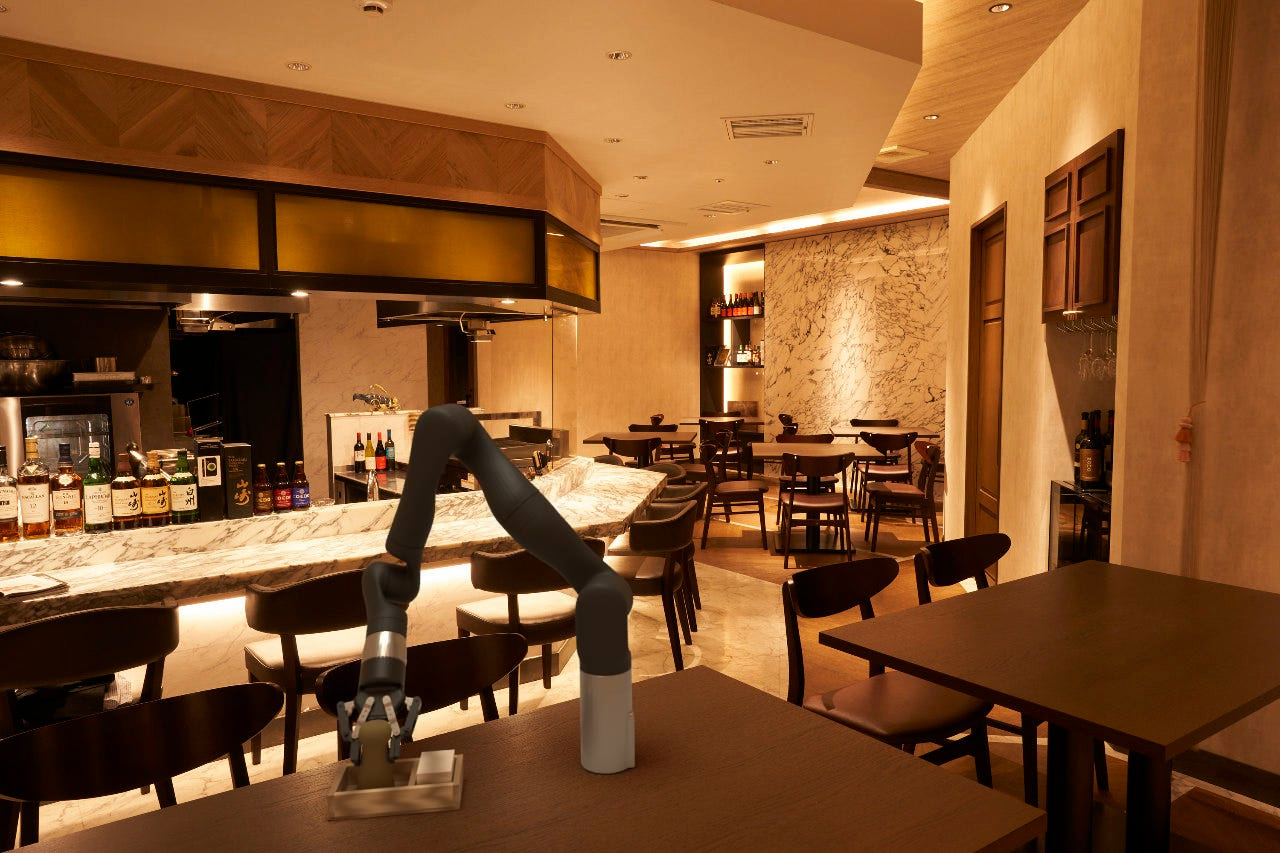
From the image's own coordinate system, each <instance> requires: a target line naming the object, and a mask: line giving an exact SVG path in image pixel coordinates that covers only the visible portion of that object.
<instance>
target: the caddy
mask: <svg viewBox="0 0 1280 853" xmlns="http://www.w3.org/2000/svg"><path fill="white" fill-rule="evenodd" d="M455 751H456V750H455V749H445V750H432V751H422V752H421V755H420V757H415V758H414V757H413V758H401V759H400V758H399V759H397V760H395V763H393V764H392V769H393V775H394V782H395V787H392V788H380V789H368V790H357V783H358V775H359V767H360V766H354V763H352V762H350V763H342V764H341V765H340V767H339V770H338V771H337V774H336V775H335V778H334V781H333V783H332V785H331V787H330V789H329V791H328V793H327V821H328V820H335V821H343V820H356V819H367V818H377V817H379V818H380V817H388V816H389V817H390V816H400V815H410V814H421V813H433V812H445V811H446V812H447V811H455V810H460V808H461V801H462V793H463V785H464V754H462V753H461V754H455Z"/></svg>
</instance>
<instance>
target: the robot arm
mask: <svg viewBox="0 0 1280 853" xmlns="http://www.w3.org/2000/svg"><path fill="white" fill-rule="evenodd" d="M452 456H453V457H454V458H456V459H457V460H458V462H460V463H461V465H463V466H464V467H465V468H466V469H467V470H468V471H469V472H470V473H471V475H472V476H473V477H474V479H475V480H476V481H477V483H478V485H479V487H480V489H481V492H482V493H483V496H484V498H485V501H486V503H487V505H488V508H489V510H490V512H491V515H492V516H493V517H494V519H495V520H496V521H497V523H498V524H499V525H500V526H501V527H502V528H503V530H505V532H506V533H507V534H508V535H509V536H510V537H511V538H512V539H513V540H514V542H515V543H517V544H518V545H519V547H521V548H522V549H523V550H525V551H526V552H527V553H529V554H531V556H533V557H535V558H536V559H538V560H539V561H541V562H543V563H545V564H546V565H548V566H549V567H551V568H552V569H554V570H555V571H557V573H559V575H561V576H562V578H563V579H565V581H566V582H567V583H568V584H569V585H570V586H571V587H572V589H573V590H574V592H575V593H576V594H577V597H576V601H575V606H574V607H575V609H574V620H575V646H576V654H577V657H578V660H579V709H580V710H579V712H580V713H579V717H580V719H579V720H580V724H579V725H580V763H581V766H582V768H583V769H585V770H586V771H589V772H592V773H596V774H616V773H619V772H622V771H624V770H627V769H629V768H635V767H636V761H635V759H636V758H635V756H636V755H635V753H636V748H635V745H636V744H635V740H636V739H635V713H634V711H633V688H632V687H633V686H632V685H633V682H632V680H633V679H632V676H633V675H632V672H633V671H632V652H631V650H630V648H629V646H630V645H629V628H628V627H629V624H628V623H629V614H630V613H631V611H632V609H633V606H634V595H633V594H634V593H633V591H632V589H631V586H630V585H629V583H628V582H627V580H626V579H624V577H622V575H620V574H619V573H618V572H617V571H616V570H615V569H613V567H612V566H610V565H609V564H608V563H607V562H605V561H604V560H603V559H602V558H601V557H600V556H599V555H598V554H596V553H595V552H594V551H593V550H592V549H591V548H590V547H589V546H588V545H587V543H585V541H584V540H583V539H582V538H581V536H580V535H579V534H578V533H577V531H576V530H575V529H574V528H573V527H572V526H571V525H570V523H568V521H567V520H566V519H565V518H564V517H563V516H562V514H561V513H559V511H558V510H557V509H556V508H555V507H554V505H553V504H552V503H551V501H550V500H549V499H547V497H546V496H545V495H544V494H543V493H542V492H541V491H540V490H539V489H538V487H537V486H535V485H534V484H533V482H532V481H530V480H529V478H527V476H525V474H524V473H523V472H522V471H521V470H520V469H519V468H518V466H516V465H515V464H514V462H512V460H511V459H509V457H508V456H507V455H506V454H505V453H504V452H503V451H502V449H501V448H500V447H499V446H498V444H497V443H496V442H495V440H494V439H493V437H492V436H490V434H489V432H488V431H487V429H486V428H485V427H484V425H483V424H482V423H481V422H480V421H479V419H478V418H477V416H476V415H475V414H474V413H473V412H472V411H471V410H470V409H469V408H467V407H465V405H461V404H458V403H447V404H441V405H436V406H433V407H430V408H428V409H426V410H424V411H423V412H422V413H421V414H420V415H419V416H418V418H417V420H416V422H415V424H414V430H413V435H412V439H411V445H410V451H409V457H408V458H409V459H408V463H407V467H406V473H405V479H404V483H403V488H402V491H401V494H400V495H401V496H400V498H399V501H398V505H397V508H396V510H395V513H394V516H393V520H392V522H391V525H390V528H389V531H388V533H387V537H386V540H385V544H384V548H385V551H386V552H387V553H388V554H389V555H390V556H392V557H394V558H395V559H398V560H401V561H402V562H404V563H405V565H404V564H403V565H402V564H398V563H391V562H386V561H381V560H380V561H379V560H378V561H372V562H371V563H370V564H368V566H366V568H365V569H364V571H363V573H362V577H361V590H362V595H363V600H364V605H365V610H366V617H367V618H366V619H367V623H366V630H365V631H366V632H365V640H364V646H363V649H362V652H361V653H362V654H361V662H360V664H361V665H360V671H359V672H360V673H359V680H358V688H357V692H356V693H357V694H356V696H355V697H354V698H353V700H351V701H347V702H344V701H342V700H341V701H337V704H336V710H337V715H338V717H337V718H338V724H339V731H340V732H339V733H340V735H341V738H342V739H343V741H345V742H350V749H349V759H350V763H354V766H360V759H361V751H362V744H361V743H360V741H359V736H358V734H359V729H360V727H361V726H362V725H363V724H364V723H366V722H368V721H371V720H385V721H387V722H389V724H390V725H391V728H392V735H391V739H390V740H389V741H390V742H389V748H390V752H389V761H390V764H393V763H395V760H398V759H400V755H401V754H400V753H401V742H402V739H404V738H406V737H412V736H413V734H414V732H415V727H416V725H417V721H418V719H419V716H420V712H421V708H422V700H421V697H420V696H418V695H417V696H414V697H408V696H406V694H405V683H406V667H407V663H408V659H407V655H408V654H407V653H408V650H407V649H408V648H407V638H408V636H407V635H408V623H409V622H408V621H409V618H408V614H407V612H406V610H404V609H403V608H402V607H400V606H398V605H395V604H401V605H408V604H410V603H412V602H413V601H414V600H415V599H416V598H417V596H419V595H418V594H419V593H420V590H421V570H422V569H421V568H422V566H421V565H422V560H423V554H424V550H425V548H426V544H427V541H428V539H429V536H430V533H431V530H432V528H433V525H434V520H435V516H436V515H435V514H436V504H437V503H436V500H437V498H436V497H437V490H438V485H439V482H440V478H441V476H442V473H443V471H444V470H445V467H446V465H447V463H448V461H449V460H450V458H451V457H452ZM393 603H394V604H393ZM405 705H406V708H407V711H408V714H407V718H406V720H405V723H404V725H403V726H401V727H400V726H399V723H398V719H397V715H398V714H399V713H400V712H401V711H402V709H403V708H404V707H405ZM354 709H355V710H356V711H357V712H358V713H359V717H358V718H357V720H356V725H355V727H354V729H353V730H350V724H349V717H351V715H352V713H353V710H354Z"/></svg>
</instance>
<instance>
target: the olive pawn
mask: <svg viewBox="0 0 1280 853" xmlns="http://www.w3.org/2000/svg"><path fill="white" fill-rule="evenodd" d="M392 734H393V733H392V728H391V725H390V723H389V722H387V721H385V720H371V721H368V722H366V723H364V724H363V725H362V726H361V727H360V729H359V734H358V736H359V741H360V743H361V744H362V749H361V758H360V767H359V775H358V783H357V790H368V789H380V788H392V787H395V782H394V775H393V769H392V764H390V761H389V752H390V742H389V741H390V740H391V737H392Z"/></svg>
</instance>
